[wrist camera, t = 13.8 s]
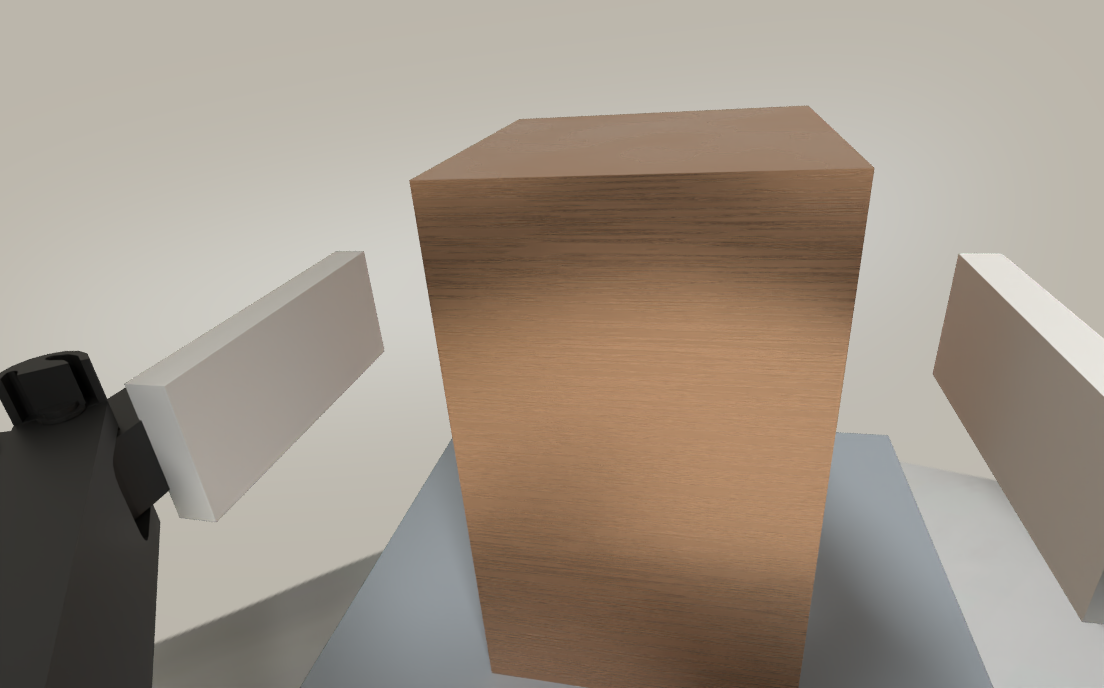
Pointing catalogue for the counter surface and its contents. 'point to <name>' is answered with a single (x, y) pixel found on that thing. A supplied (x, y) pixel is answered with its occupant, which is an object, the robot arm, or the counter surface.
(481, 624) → the stand
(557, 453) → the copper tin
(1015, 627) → the counter surface
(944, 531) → the counter surface
